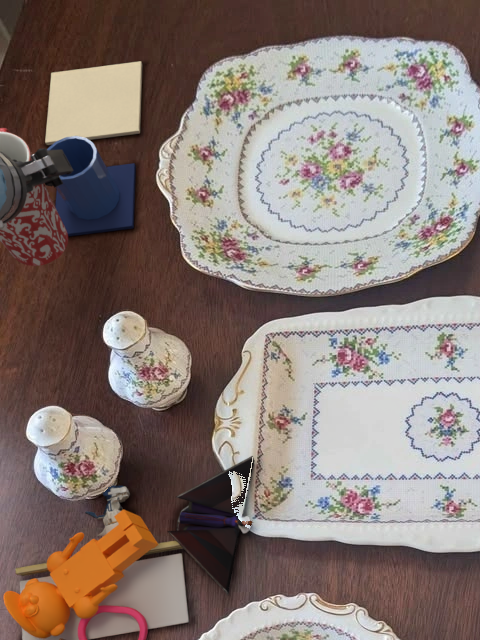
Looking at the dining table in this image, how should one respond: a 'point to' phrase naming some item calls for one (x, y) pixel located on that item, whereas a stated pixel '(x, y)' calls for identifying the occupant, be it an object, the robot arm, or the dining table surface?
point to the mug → (32, 216)
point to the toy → (80, 577)
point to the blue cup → (86, 179)
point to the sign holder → (131, 597)
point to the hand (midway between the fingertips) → (14, 189)
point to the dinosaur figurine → (111, 507)
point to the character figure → (213, 523)
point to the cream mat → (95, 102)
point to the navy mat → (116, 218)
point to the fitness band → (116, 609)
